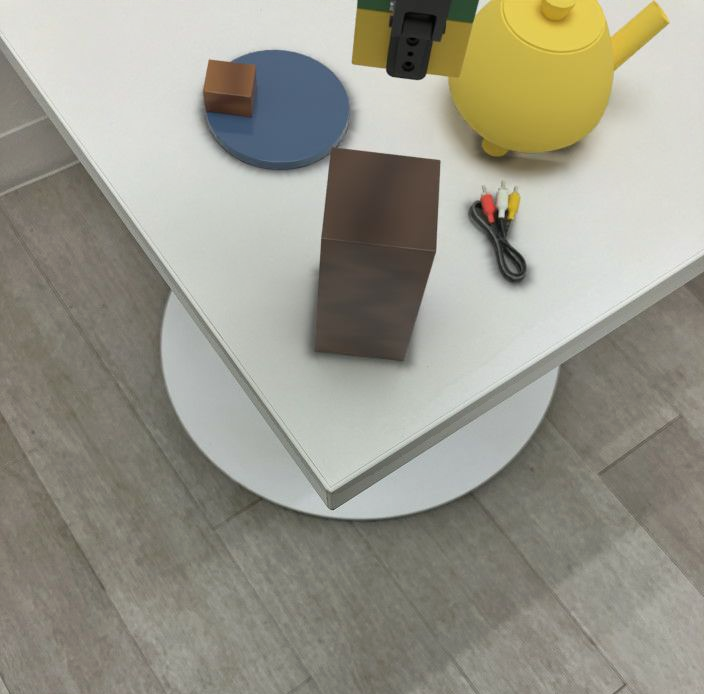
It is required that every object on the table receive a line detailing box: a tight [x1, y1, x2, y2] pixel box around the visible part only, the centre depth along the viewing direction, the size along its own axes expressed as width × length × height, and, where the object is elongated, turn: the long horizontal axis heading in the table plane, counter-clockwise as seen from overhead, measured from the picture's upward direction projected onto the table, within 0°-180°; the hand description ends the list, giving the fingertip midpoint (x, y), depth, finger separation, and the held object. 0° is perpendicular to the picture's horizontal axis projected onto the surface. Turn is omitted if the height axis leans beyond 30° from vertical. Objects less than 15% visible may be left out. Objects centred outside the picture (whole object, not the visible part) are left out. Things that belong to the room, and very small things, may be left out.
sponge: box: [351, 0, 480, 78], centre depth 42 cm, size 6×4×5 cm, turn 85°
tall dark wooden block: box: [313, 147, 442, 361], centre depth 64 cm, size 8×8×16 cm
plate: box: [204, 49, 350, 170], centre depth 78 cm, size 14×14×1 cm
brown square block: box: [202, 58, 257, 117], centre depth 76 cm, size 4×4×2 cm
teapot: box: [447, 0, 670, 157], centre depth 74 cm, size 20×16×14 cm
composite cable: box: [468, 180, 528, 283], centre depth 74 cm, size 10×5×2 cm, turn 4°
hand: (407, 41), depth 44 cm, fingers closed on sponge, 4 cm apart
